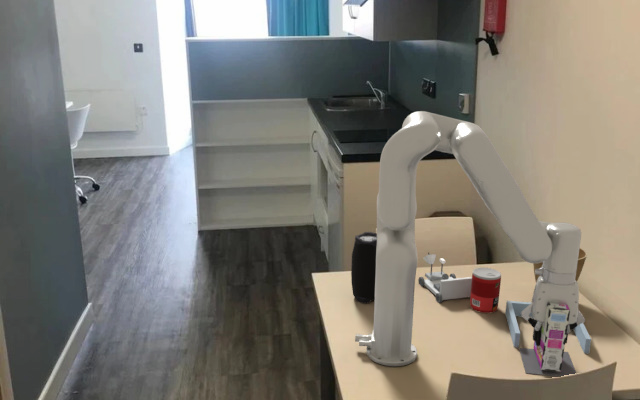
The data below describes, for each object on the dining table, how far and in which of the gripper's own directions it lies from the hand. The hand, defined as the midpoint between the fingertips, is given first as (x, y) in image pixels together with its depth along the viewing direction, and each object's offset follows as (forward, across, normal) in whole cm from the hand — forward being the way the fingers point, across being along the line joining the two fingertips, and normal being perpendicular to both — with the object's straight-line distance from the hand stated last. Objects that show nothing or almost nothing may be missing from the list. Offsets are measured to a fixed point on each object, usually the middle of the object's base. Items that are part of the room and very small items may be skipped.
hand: (549, 343), depth 158 cm
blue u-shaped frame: (+5, +2, +16) cm, 16 cm away
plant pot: (+5, +8, +38) cm, 39 cm away
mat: (+5, 0, 0) cm, 5 cm away
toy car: (+6, -24, +39) cm, 46 cm away
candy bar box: (+5, 0, 0) cm, 5 cm away
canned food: (+6, -13, +28) cm, 32 cm away
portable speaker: (+6, -47, +28) cm, 55 cm away
